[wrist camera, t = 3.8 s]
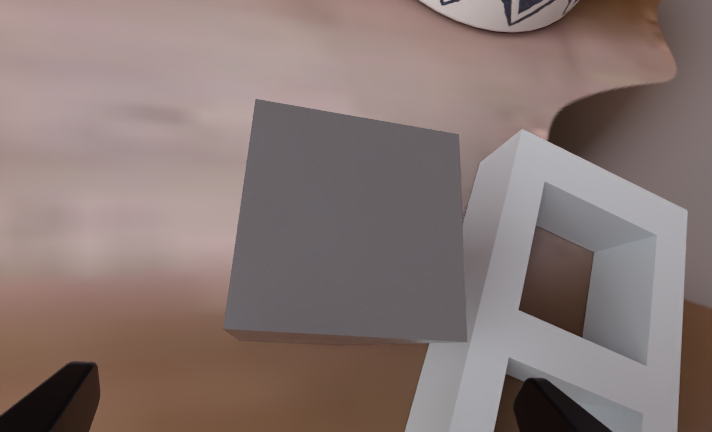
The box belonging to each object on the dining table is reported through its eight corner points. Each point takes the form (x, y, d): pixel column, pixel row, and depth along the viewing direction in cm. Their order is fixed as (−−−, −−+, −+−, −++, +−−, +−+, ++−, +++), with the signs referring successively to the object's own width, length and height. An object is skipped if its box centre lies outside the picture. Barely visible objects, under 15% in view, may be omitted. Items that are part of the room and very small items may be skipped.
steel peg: (339, 345, 19) (467, 342, 8) (239, 340, 18) (223, 329, 7) (344, 250, 20) (458, 134, 9) (251, 241, 19) (255, 99, 8)
